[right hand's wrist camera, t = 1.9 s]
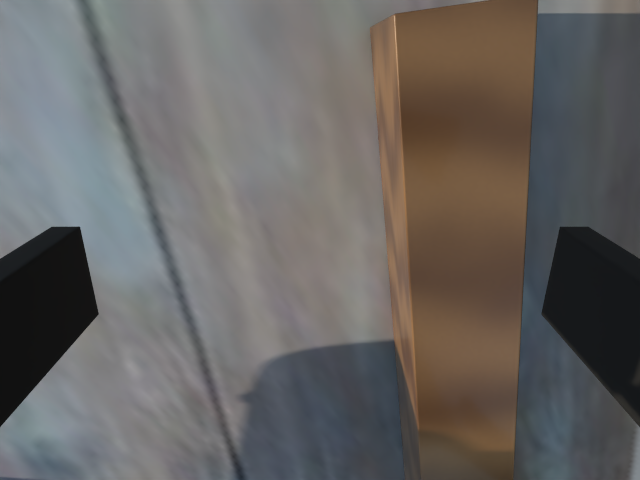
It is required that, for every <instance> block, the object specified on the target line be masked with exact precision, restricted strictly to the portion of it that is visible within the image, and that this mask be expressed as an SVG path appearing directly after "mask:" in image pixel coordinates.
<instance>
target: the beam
mask: <svg viewBox="0 0 640 480" xmlns="http://www.w3.org/2000/svg"><path fill="white" fill-rule="evenodd" d="M537 13H538V0H488V1H481V2H474V3H467V4H460V5H453V6H446V7H439V8H432V9H425V10H418V11H411V12H404V13H397V14H394V15H392V16H390V17H388V18H387V19H385V20H383V21H381V22H379V23H377V24H376V25H374V26H372V27H370V34H371V47H372V60H373V72H374V85H375V98H376V111H377V124H378V137H379V150H380V163H381V176H382V189H383V202H384V214H385V227H386V240H387V253H388V266H389V279H390V292H391V305H392V318H393V331H394V344H395V357H396V369H397V382H398V395H399V408H400V421H401V434H402V447H403V460H404V473H405V480H513V473H514V454H515V434H516V415H517V396H518V377H519V358H520V339H521V320H522V300H523V281H524V262H525V243H526V224H527V205H528V186H529V167H530V147H531V128H532V109H533V90H534V71H535V52H536V33H537Z"/></svg>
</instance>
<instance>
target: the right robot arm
mask: <svg viewBox="0 0 640 480" xmlns="http://www.w3.org/2000/svg"><path fill="white" fill-rule="evenodd" d="M97 315H98V309H97V304H96V300H95V295H94V290H93V286H92V281H91V276H90V272H89V267H88V262H87V258H86V253H85V248H84V244H83V239H82V234H81V230H80V227H51V228H49V229H48V230H46V231H44V232H43V233H41V234H40V235H38V236H36V237H35V238H33V239H32V240H30V241H28V242H27V243H25V244H23V245H22V246H20V247H19V248H17V249H15V250H14V251H12V252H11V253H9V254H7V255H6V256H4V257H3V258H1V259H0V427H1V425H2V424H3V423H4V422H5V421H6V420H7V419H8V417H9V416H10V415H11V414H12V413H13V412H14V411H15V409H16V408H17V407H18V406H19V405H20V404H21V403H22V401H23V400H24V399H25V398H26V397H27V396H28V394H29V393H30V392H31V391H32V390H33V389H34V388H35V386H36V385H37V384H38V383H39V382H40V381H41V380H42V378H43V377H44V376H45V375H46V374H47V373H48V372H49V370H50V369H51V368H52V367H53V366H54V365H55V364H56V362H57V361H58V360H59V359H60V358H61V357H62V356H63V354H64V353H65V352H66V351H67V350H68V349H69V348H70V346H71V345H72V344H73V343H74V342H75V341H76V340H77V338H78V337H79V336H80V335H81V334H82V333H83V331H84V330H85V329H86V328H87V327H88V326H89V325H90V323H91V322H92V321H93V320H94V319H95V318H96V317H97ZM542 315H543V317H544V318H545V319H546V320H547V321H548V322H549V323H550V325H551V326H552V327H553V328H554V329H555V330H556V331H557V333H558V334H559V335H560V336H561V337H562V338H563V340H564V341H565V342H566V343H567V344H568V345H569V346H570V348H571V349H572V350H573V351H574V352H575V353H576V354H577V356H578V357H579V358H580V359H581V360H582V361H583V362H584V364H585V365H586V366H587V367H588V368H589V369H590V370H591V372H592V373H593V374H594V375H595V376H596V377H597V378H598V380H599V381H600V382H601V383H602V384H603V385H604V386H605V388H606V389H607V390H608V391H609V392H610V393H611V394H612V396H613V397H614V398H615V399H616V400H617V401H618V403H619V404H620V405H621V406H622V407H623V408H624V409H625V411H626V412H627V413H628V414H629V415H630V416H631V417H632V419H633V420H634V421H635V422H636V423H637V424H638V425H639V427H640V259H639V258H637V257H636V256H634V255H633V254H631V253H629V252H628V251H626V250H625V249H623V248H621V247H620V246H618V245H617V244H615V243H613V242H612V241H610V240H608V239H607V238H605V237H604V236H602V235H600V234H599V233H597V232H596V231H594V230H592V229H591V228H589V227H560V230H559V234H558V239H557V244H556V248H555V253H554V258H553V262H552V267H551V272H550V276H549V281H548V286H547V290H546V295H545V300H544V304H543V309H542Z"/></svg>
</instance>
